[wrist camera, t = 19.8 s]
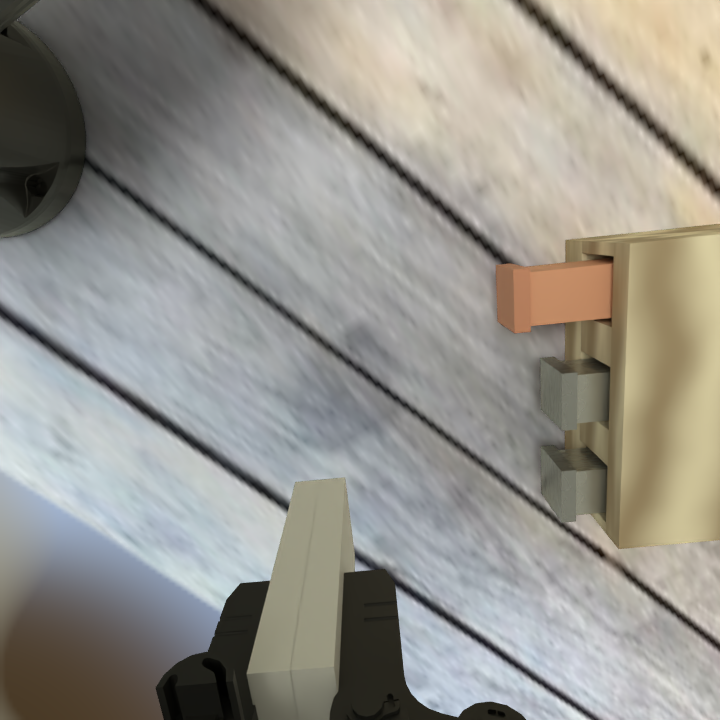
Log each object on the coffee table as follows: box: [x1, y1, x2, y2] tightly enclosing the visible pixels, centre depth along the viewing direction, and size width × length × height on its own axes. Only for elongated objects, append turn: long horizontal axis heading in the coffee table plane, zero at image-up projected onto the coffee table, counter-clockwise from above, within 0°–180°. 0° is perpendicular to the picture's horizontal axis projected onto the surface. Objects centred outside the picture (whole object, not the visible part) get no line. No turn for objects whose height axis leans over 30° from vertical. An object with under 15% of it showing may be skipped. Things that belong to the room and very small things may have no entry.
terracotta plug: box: [496, 258, 614, 333], centre depth 32 cm, size 17×4×4 cm, turn 96°
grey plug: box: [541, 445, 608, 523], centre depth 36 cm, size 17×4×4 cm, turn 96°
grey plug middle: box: [540, 357, 611, 431], centre depth 34 cm, size 17×4×4 cm, turn 96°
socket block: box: [565, 224, 720, 549], centre depth 34 cm, size 16×20×9 cm
